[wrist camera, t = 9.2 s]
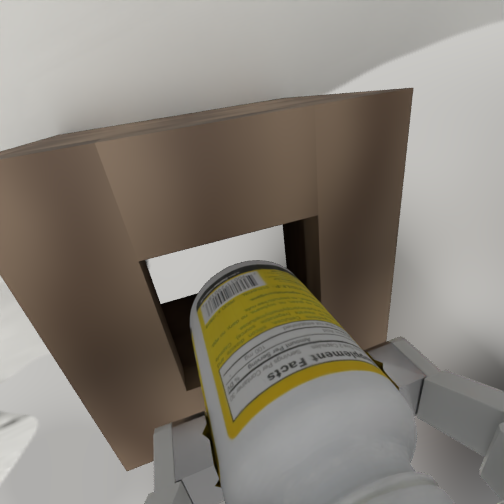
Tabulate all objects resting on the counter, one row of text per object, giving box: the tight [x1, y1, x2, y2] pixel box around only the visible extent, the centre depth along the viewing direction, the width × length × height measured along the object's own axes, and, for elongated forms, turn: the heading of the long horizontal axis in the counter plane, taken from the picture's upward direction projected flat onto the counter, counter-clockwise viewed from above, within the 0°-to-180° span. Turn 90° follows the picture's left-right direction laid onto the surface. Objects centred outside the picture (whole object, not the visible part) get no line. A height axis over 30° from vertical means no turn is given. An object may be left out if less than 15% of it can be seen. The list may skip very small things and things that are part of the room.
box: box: [0, 88, 413, 471], centre depth 19 cm, size 16×16×13 cm
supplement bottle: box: [190, 260, 455, 504], centre depth 9 cm, size 5×5×10 cm
